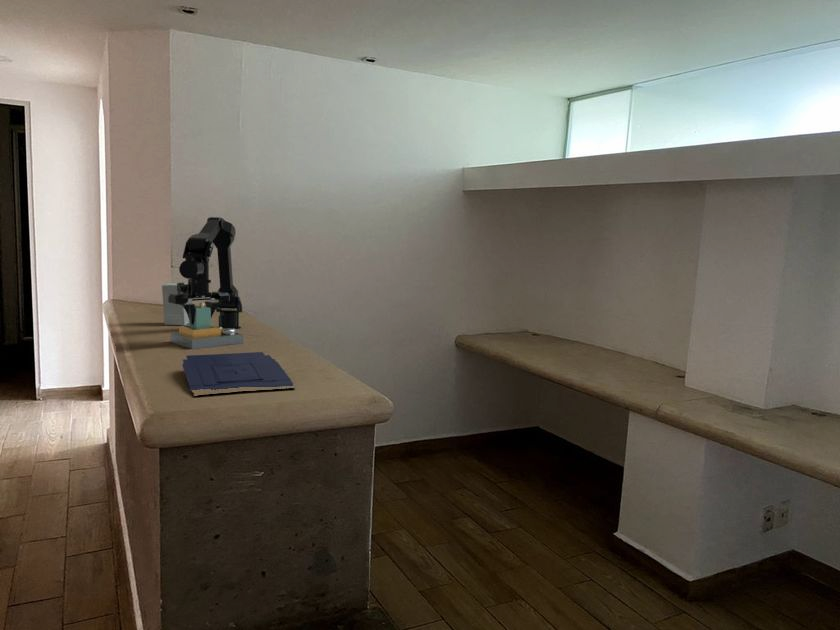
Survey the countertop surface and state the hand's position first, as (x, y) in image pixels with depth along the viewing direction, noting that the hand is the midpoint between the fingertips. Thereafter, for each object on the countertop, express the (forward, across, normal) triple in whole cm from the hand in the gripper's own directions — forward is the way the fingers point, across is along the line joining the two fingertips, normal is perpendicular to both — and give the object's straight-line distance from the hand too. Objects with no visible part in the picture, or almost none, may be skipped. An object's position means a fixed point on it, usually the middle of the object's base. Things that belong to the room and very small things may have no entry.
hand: (200, 323), depth 213 cm
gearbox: (+6, -2, 0) cm, 7 cm away
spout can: (+2, 0, 0) cm, 2 cm away
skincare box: (+7, -12, -41) cm, 43 cm away
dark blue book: (+7, +16, +51) cm, 54 cm away
